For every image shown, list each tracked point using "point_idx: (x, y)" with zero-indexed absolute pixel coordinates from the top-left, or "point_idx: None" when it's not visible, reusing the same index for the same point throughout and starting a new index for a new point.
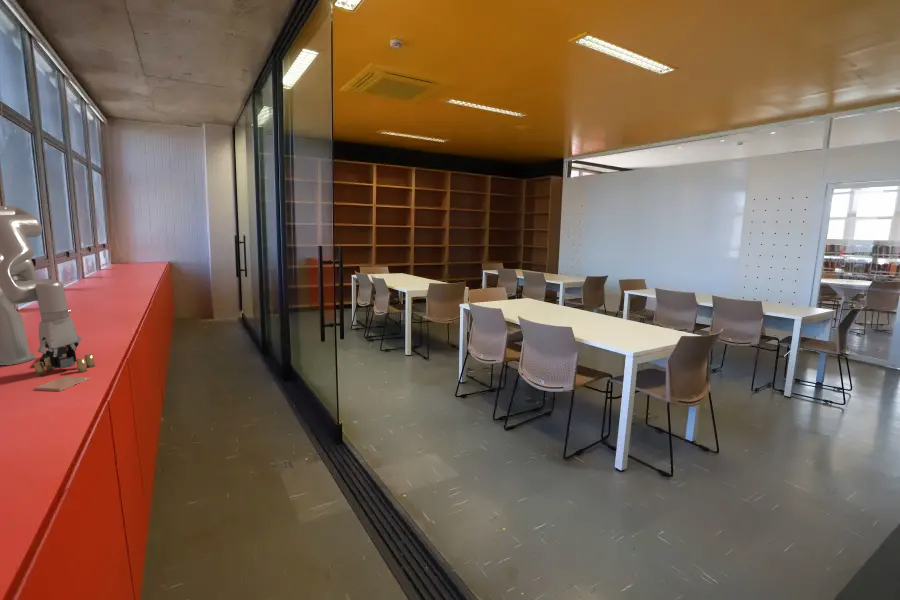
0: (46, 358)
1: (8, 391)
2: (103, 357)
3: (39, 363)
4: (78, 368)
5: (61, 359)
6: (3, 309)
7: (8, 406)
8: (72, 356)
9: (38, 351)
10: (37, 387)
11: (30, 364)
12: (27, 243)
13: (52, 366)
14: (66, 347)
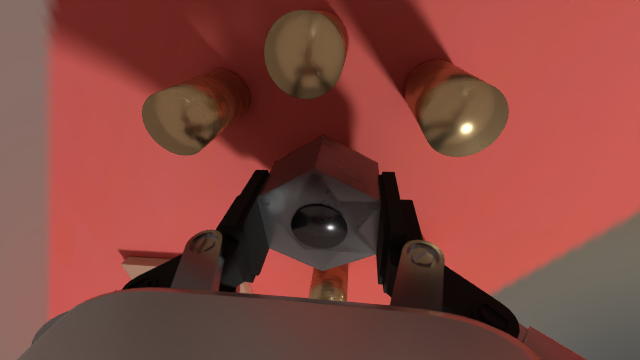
0: (291, 41)
1: (52, 178)
2: (625, 175)
3: (173, 149)
4: (313, 274)
5: (291, 238)
6: None
7: (50, 290)
8: (369, 252)
9: (53, 323)
10: (128, 274)
11: None
12: None
13: (258, 172)
14: (396, 279)
